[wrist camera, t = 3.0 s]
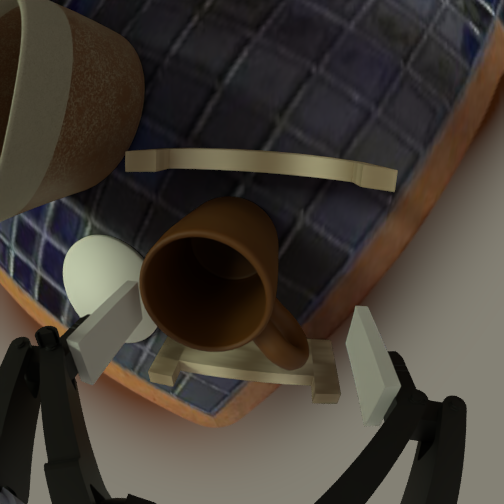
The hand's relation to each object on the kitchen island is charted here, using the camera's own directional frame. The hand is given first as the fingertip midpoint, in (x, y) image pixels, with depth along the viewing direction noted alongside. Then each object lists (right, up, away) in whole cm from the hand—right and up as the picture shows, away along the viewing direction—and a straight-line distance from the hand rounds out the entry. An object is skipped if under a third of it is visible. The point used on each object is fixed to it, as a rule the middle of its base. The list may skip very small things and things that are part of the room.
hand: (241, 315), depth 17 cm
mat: (-14, 0, +10) cm, 17 cm away
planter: (-16, +17, +4) cm, 23 cm away
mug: (+1, +3, +7) cm, 8 cm away
